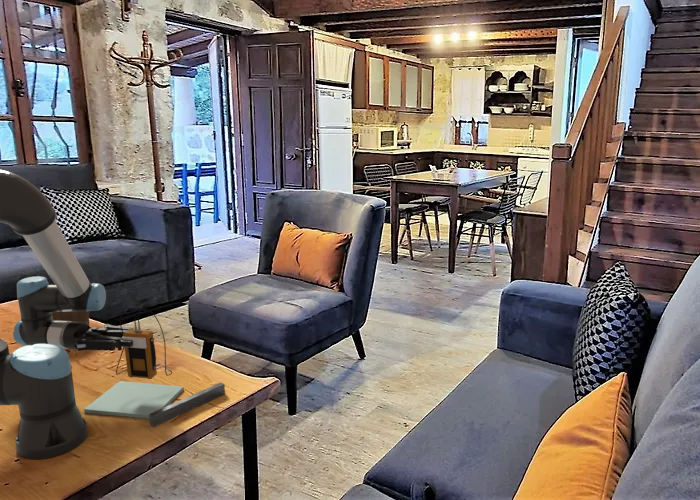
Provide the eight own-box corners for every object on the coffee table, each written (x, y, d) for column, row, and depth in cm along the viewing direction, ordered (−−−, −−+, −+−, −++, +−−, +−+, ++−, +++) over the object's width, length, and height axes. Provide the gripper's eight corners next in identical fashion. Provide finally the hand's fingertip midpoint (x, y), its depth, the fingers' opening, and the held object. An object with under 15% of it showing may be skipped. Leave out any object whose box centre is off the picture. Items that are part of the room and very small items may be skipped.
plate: (154, 419, 140) (154, 415, 140) (84, 412, 144) (84, 409, 143) (183, 389, 155) (183, 386, 155) (119, 384, 159) (119, 381, 159)
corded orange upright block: (182, 364, 156) (176, 298, 151) (164, 381, 146) (157, 311, 141) (135, 360, 158) (128, 295, 153) (115, 376, 149) (106, 307, 144)
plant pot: (105, 333, 197) (100, 291, 194) (61, 348, 184) (55, 303, 181) (80, 324, 206) (75, 283, 203) (36, 338, 193) (30, 295, 190)
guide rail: (153, 427, 136) (152, 416, 136) (150, 424, 137) (149, 414, 137) (225, 393, 153) (224, 384, 152) (221, 392, 154) (220, 382, 153)
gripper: (90, 336, 158) (165, 342, 154) (52, 360, 143) (133, 366, 139) (87, 312, 156) (162, 317, 152) (48, 333, 141) (130, 339, 137)
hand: (148, 340), depth 146 cm, fingers closed on corded orange upright block, 3 cm apart
